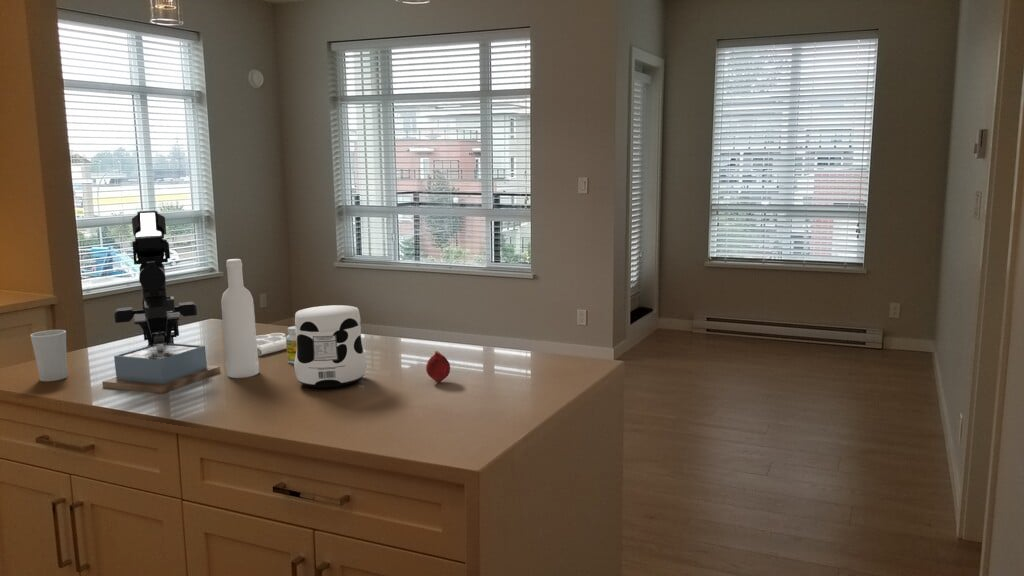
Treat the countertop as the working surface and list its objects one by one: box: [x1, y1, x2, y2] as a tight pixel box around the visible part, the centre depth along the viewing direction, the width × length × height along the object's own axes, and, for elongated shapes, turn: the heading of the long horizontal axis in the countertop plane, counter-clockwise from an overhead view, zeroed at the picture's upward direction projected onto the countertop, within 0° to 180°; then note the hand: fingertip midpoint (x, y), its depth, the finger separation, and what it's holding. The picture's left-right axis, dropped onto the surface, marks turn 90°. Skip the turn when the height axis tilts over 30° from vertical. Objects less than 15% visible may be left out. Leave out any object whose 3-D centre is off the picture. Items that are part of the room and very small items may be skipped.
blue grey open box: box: [113, 343, 208, 384], centre depth 201 cm, size 15×17×6 cm
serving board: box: [101, 364, 221, 394], centre depth 201 cm, size 20×19×2 cm
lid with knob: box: [124, 332, 197, 359], centre depth 200 cm, size 13×13×6 cm
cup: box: [30, 329, 69, 382], centre depth 205 cm, size 8×8×12 cm
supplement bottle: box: [285, 325, 297, 365], centre depth 216 cm, size 5×5×10 cm
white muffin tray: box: [256, 332, 287, 357], centre depth 231 cm, size 3×18×15 cm
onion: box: [425, 350, 451, 384], centre depth 192 cm, size 6×6×8 cm
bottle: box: [220, 258, 260, 379], centre depth 202 cm, size 8×8×30 cm
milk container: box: [293, 304, 367, 388], centre depth 194 cm, size 17×17×18 cm
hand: (159, 345), depth 200 cm, fingers closed on lid with knob, 3 cm apart
